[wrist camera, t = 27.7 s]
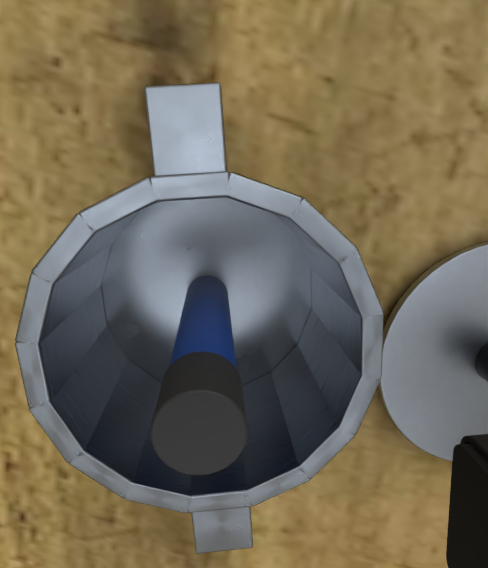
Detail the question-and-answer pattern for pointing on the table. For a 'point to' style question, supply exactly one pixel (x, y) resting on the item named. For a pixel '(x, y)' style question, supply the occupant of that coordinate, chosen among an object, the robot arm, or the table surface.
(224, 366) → the pen
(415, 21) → the table surface
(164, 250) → the pot
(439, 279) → the pot lid
